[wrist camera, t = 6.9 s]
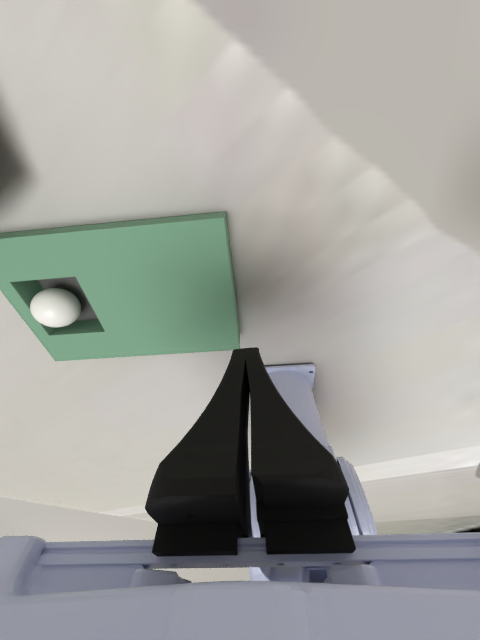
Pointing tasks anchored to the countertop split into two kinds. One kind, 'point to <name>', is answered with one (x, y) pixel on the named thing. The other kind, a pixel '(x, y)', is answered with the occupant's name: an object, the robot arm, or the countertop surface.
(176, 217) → the green
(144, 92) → the countertop surface
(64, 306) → the ball
